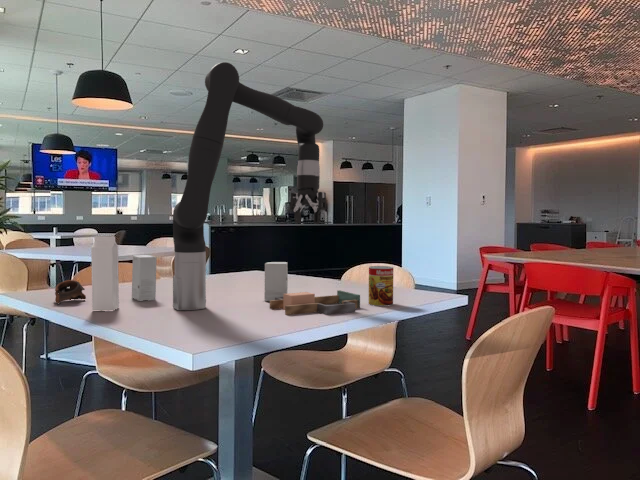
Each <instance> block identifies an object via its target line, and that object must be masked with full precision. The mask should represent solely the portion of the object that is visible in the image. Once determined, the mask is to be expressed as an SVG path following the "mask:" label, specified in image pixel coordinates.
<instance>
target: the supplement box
mask: <svg viewBox="0 0 640 480" xmlns="http://www.w3.org/2000/svg"><path fill="white" fill-rule="evenodd" d="M288 270H289V269H288V261H287V262H286V261H271V262H265V263H264V302H270V300H275V297H283V294H287V293H288V291H289V290H288V281H289V280H288V279H289V278H288V277H289V276H288V275H289V274H288Z"/></svg>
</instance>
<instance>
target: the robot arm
mask: <svg viewBox="0 0 640 480" xmlns="http://www.w3.org/2000/svg"><path fill="white" fill-rule="evenodd" d="M204 86H205V88H206V90H207V96H206V101H205V105H204V108H203V111H202V113H201V115H200V116H199V119H198V121H197V124H196V126H195V129H194V131H193V134H192V135H193V136H192V139H191V142H190V143H191V144H190V148H189V152H188V163H187V178H186V183H185V186H184V190H183V192H182V196H181V198H180V201H179V202H178V203H176V205H175V206H174V208H173V212H172V233H173V234H172V235H173V236H172V237H173V239H172V241H173V245H174V250H173V251H174V276H172V307H173V309H175V310H177V311H196V310H203V309H206V308H207V280H206V279H207V277H206V276H207V273H206V272H207V271H206V270H207V269H206V267H207V263H206V260H207V257H206V255H207V253H206V247H207V246H206V241H205V233H204V230H205V227H204V224H205V222H206V221H207V217H208V211H209V204H210V203H209V202H210V197H211V189H212V187H213V186H212V185H213V182H214V179H215V176H216V173H217V169H218V167H219V162H220V161H221V160H220V159H221V155H222V151H223V147H224V143H225V137H226V132H227V126H228V120H229V115H230V114H229V113H230V110H231V107H232V104H233V103H235V104H238V105H240V106H243V107H246V108H249V109H251V110H253V111H255V112H257V113H260V114H262V115H264V116H266V117H267V118H270V119H272V120H274V121H276V122H279V123H280V124H282V125H284V126H293V127H295V135H296V141H297V146H298V147H297V148H298V151H297V152H298V153H297V155H298V156H297V157H298V158H297V168H296V171H297V172H296V189H297V190H298V192H291V193H290V201H289V203H290V204H289V210H290V211H293V212H294V216H293V217H294V220H293V221H294V223H295V224H301V223H302V210H303V208H305V207H306V206H310V207H311V208H312V209H313V224H315V225H320V223H321V220H322V219H321V218H322V217H321V216H322V215H321V214H322V212H323V211H326V210H327V193H326V192H325V191H319V189H320V182H321V181H320V179H321V177H320V175H321V174H320V173H321V170H320V168H321V167H320V146H319V144H318V143H316V135H318V134H319V133H321V131H322V130H323V129H324V121H323V119H322V117H321V116H320V115H319V114H318V113H316V112H315V111H312V110H310V109H307V108H304V107H300V106H297V105H295V104H292V102H289V101H287V100H285V99H283V98H281V97H279V96H277V95H274V94H270V93H268V92H264V91H260V90H257V89H254V88H251V87H249V86H246V85H245V84H243V83H241V82H240V74H239V72H238V70H237V68H236V66H234V65H233V64H232V63H230V62H227V61H222V62H219V63H216V64H215V65H214V66H212V67H211V69H210V70H209V71H208V72H207V73H206V75H205V78H204Z"/></svg>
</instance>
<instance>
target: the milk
mask: <svg viewBox="0 0 640 480" xmlns="http://www.w3.org/2000/svg"><path fill="white" fill-rule="evenodd" d="M90 251H91V252H90V253H91V255H90V256H91V258H90V259H91V311H92V310H114V309H116V308H118V307H119V308H120V305H119V304H120V302H119V301H120V299H119V298H120V297H119V293H120V290H119V289H120V288H119V245H118V244H117V242H116V236H115V235H112V236H111V235H102V236H101V235H100V236H99V235H96V236H94V241H93V243H92V245H91V249H90ZM119 308H118V309H119ZM116 310H117V309H116ZM114 311H115V310H114Z"/></svg>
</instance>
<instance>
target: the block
mask: <svg viewBox="0 0 640 480" xmlns="http://www.w3.org/2000/svg"><path fill="white" fill-rule="evenodd" d="M315 297H316V295H315V293H312V292H308V291H303V292H302V291H300V292H290V293H289V292H287V294H283V308H282V309H283V310H284V311H285V306H288V305H300V304H311V303H315Z"/></svg>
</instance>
